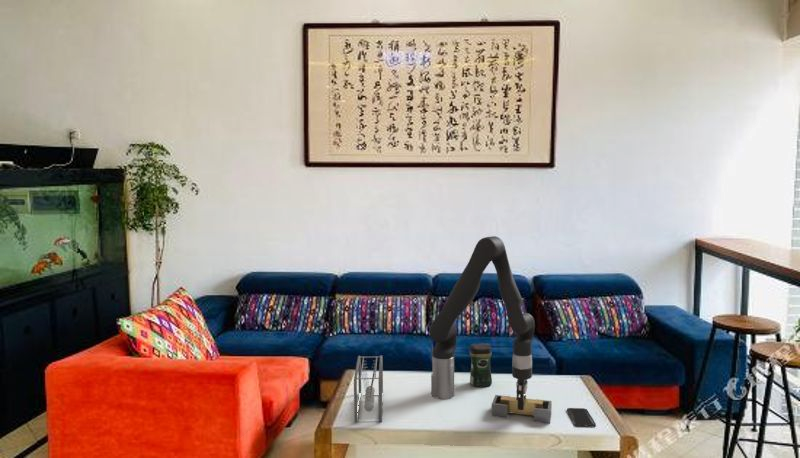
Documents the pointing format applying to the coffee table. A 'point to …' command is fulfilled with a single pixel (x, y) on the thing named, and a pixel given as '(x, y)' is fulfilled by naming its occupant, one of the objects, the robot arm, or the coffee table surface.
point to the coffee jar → (480, 365)
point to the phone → (581, 417)
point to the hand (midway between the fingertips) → (521, 405)
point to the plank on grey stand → (539, 414)
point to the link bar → (528, 405)
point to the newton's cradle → (369, 390)
